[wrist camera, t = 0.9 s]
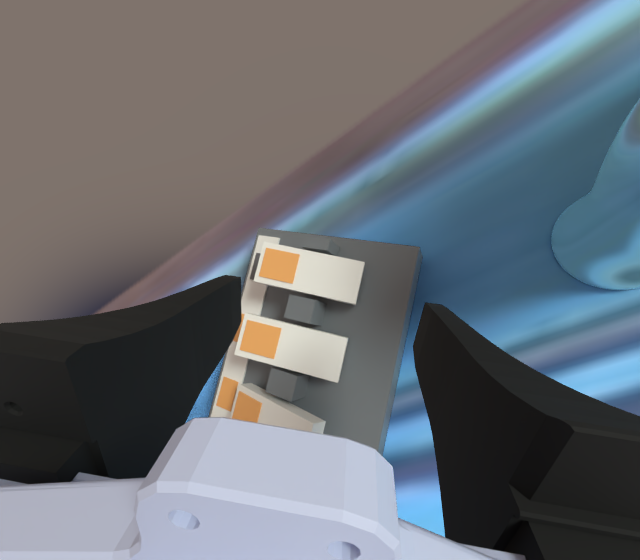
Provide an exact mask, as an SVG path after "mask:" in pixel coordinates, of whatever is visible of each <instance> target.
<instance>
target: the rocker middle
mask: <svg viewBox="0 0 640 560" xmlns="http://www.w3.org/2000/svg"><path fill="white" fill-rule="evenodd" d="M347 343H348V337H344V336H340V335H336V334H332V333H328V332H324V331H320V330H316V329H312V328H308V327H304V326H300V325H296V324H292V323H288V322H284V321H280V320H275V319H271V318H267V317H263V316H259V315H255V314H251V313H245V315H244V319H243V323H242V327H241V330H240V334H239V338H238V342H237V346H236V350H235V353H234V355H238V356H241V357H245V358H249V359H252V360H256V361H259V362H263V363H267V364H270V365H274V366H278V367H281V368H285V369H289V370H292V371H296V372H300V373H303V374H307V375H311V376H314V377H318V378H322V379H325V380H329V381H333V382H336V383H338V381H339V379H340V374H341V370H342V365H343V361H344V356H345V352H346V347H347Z"/></svg>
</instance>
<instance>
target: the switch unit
mask: <svg viewBox="0 0 640 560" xmlns="http://www.w3.org/2000/svg"><path fill="white" fill-rule="evenodd" d="M264 242H269V243H274V244H279V245H284V246H289V247H293V248H298V249H303V250H308V251H313V252H318V253H323V254H328V255H333V256H338V257H343V258H348V259H352V260H357V261H362V262H365V266H364V271H363V275H362V280H361V284H360V289H359V293H358V298H357V302H356V305H352V304H347V303H343V302H339V301H334V300H330V299H326V298H321V297H317V296H312V295H308V294H304V293H299V292H295V291H291V290H286V289H282V288H277V287H273V286H269V285H264V284H260V283H257V282H255V281H254V277H255V273H256V270H257V266H258V262H259V258H260V254H261V251H262V247H263V243H264ZM422 258H423V256H422V253H421V250H420V247H416V246H408V245H399V244H391V243H382V242H374V241H365V240H357V239H349V238H340V237H332V236H323V235H315V234H306V233H298V232H289V231H281V230H272V229H264V228H259V229H258V233H257V236H256V240H255V244H254V248H253V252H252V255H251V259H250V263H249V267H248V270H247V274H246V278H245V282H244V285H243V289H242V293H241V315H242V321H241V324H240V326H239V328H238V331H237V333H236V335H235V337H234V339H233V341H232V343H231V345H230V346H229V348H228V349H227V351H226V353H225V357H224V361H223V364H222V368H221V372H220V376H219V379H218V383H217V387H216V391H215V394H214V398H213V402H212V406H211V409H210V413H209V417H226V418H230V416H231V412H232V408H233V404H234V401H235V397H236V393H237V389H238V385H239V384H246V383H252V384H254V385H256V386H258V387H260V388H262V389H264V390H266V391H265V392H267V393H270V394H272V395H275V396H278V397H280V398H281V399H283V400H285V401H287V402H289V403H291V404H293V405H295V406H297V407H299V408H301V409H303V410H305V411H307V412H309V413H311V414H313V415H314V416H316V417H318V418H320V419H322V420H324V421H326V423H325V427H324V432H323V434H327V435H333V436H339V437H345V438H348V439H351V440H354V441H357V442H359V443H362V444H365V445H368V446H370V447H372V448H374V449H375V450H376V451H377V452H378V453H379V454H380V455H381V456H383V451H384V446H385V441H386V436H387V431H388V426H389V421H390V416H391V411H392V406H393V401H394V396H395V391H396V386H397V381H398V376H399V371H400V367H401V362H402V357H403V352H404V347H405V342H406V337H407V332H408V327H409V322H410V317H411V312H412V307H413V302H414V297H415V292H416V287H417V282H418V278H419V273H420V268H421V263H422ZM245 313H251V314H255V315H259V316H263V317H267V318H271V319H275V320H280V321H284V322H288V323H292V324H296V325H300V326H304V327H308V328H312V329H316V330H320V331H324V332H328V333H332V334H336V335H340V336H344V337H348V343H347V347H346V352H345V356H344V361H343V365H342V370H341V374H340V379H339V381H338V383H336V382H333V381H329V380H325V379H322V378H318V377H314V376H311V375H307V374H303V373H300V372H296V371H292V370H289V369H285V368H281V367H278V366H274V365H270V364H267V363H263V362H259V361H256V360H252V359H249V358H245V357H241V356H238V355H234V353H235V350H236V346H237V342H238V338H239V334H240V330H241V327H242V323H243V319H244V315H245Z"/></svg>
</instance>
